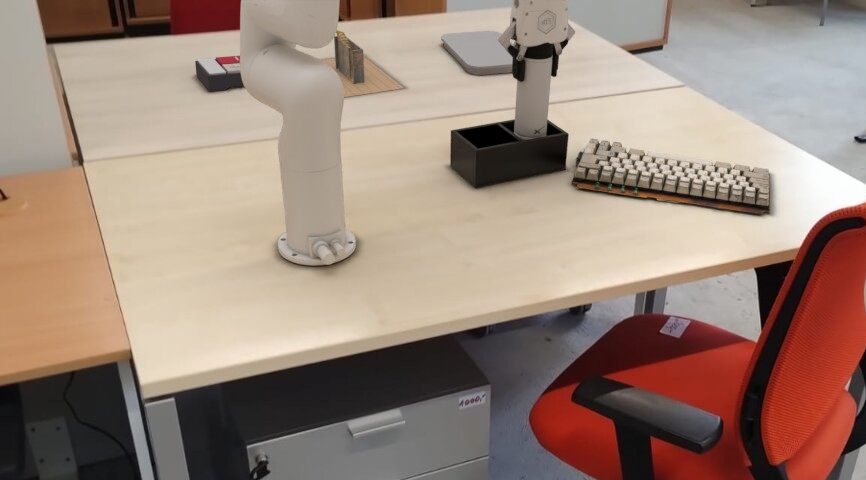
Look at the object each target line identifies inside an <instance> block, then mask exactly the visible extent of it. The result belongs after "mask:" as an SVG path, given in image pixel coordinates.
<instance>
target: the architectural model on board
mask: <svg viewBox="0 0 866 480" xmlns="http://www.w3.org/2000/svg"><path fill="white" fill-rule="evenodd" d="M333 41H334V58H329V59H328V58H327V59H320V60H321V61H323V62H325V63H326V64H328V65H329V66H331V67H332V68H333V69H334V70H335V71H336V73H337V74H338V75H339V77H340V79H341V81H342V84H343V88H344V98H347V97H354V96H355V97H356V96H361V95H368V94H374V93H381V92H388V91H395V90H401V89H404V87H403V86H402V85H401V84H399V82H397V81H395V79H393V78H392V77H390V76H389V75H388V74H387V73H385V72H384V71H383V70H381V69H380V68H379V67H377V66H376V65H375V64H374V63H372V62H371V60H369V59H367V57H365V56H364V49H363V48H362V47H360V46H359V45H358V44H356V43H355V42H354V41H353V40H351V39H350V38H349V37H348V36H346V34H345V32H344V31H341V30H338V29H337V31H336V35H335V36H334V38H333Z"/></svg>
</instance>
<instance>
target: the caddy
mask: <svg viewBox="0 0 866 480" xmlns="http://www.w3.org/2000/svg"><path fill="white" fill-rule="evenodd" d="M514 124H515V118H514V119H509V120H502V121H496V122H491V123H485V124H480V125H474V126H473V125H472V126H468V127H461V128H456V129H450V152H449V153H450V154H449V155H450V157H449V158H450V159H449V160H450V163H449V165H450V166H449V167H450V168H451V169H452V170H454V172H456V173H457V174H458V175H459V176H460V177H462V178H463V179H464V180H465V181H466V182H467V183H468V184H469V185H471V186H472V187H473V188H474V189H478V188H482V187H483V188H484V187H488V186H493V185H498V184H503V183H508V182H513V181H517V180H523V179H528V178H533V177H537V176H541V175H547V174H552V173H556V172H561V171H566V168H567V157H568V146H569V145H568V143H569V133H568V132H567V131H566V130H564V129H562V128H561V127H559V126H558V125H556V124H555V123H554V122H553V121H551V120H549V119H548V120H547V131H546V136H544V137H539V138H533V139H528V140H522V139H521V138H519V137H518V136H517V135H515V134H514Z"/></svg>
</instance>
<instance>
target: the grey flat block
mask: <svg viewBox="0 0 866 480" xmlns="http://www.w3.org/2000/svg"><path fill="white" fill-rule="evenodd" d="M502 34H503V33H501V32H499V31H494V30H479V31H465V32H453V33H452V32H451V33H445V34H442V35H441V37H440V39H441V42H442V43H443V47H444V49H446V50H447V51H448V52H449V53H450V55H451V56H452V57H453V58H454V59H455V60H456V61H457V62H458V63H459V65H461V67H463V68H464V69H465V70H466V71H467V72H468V73H469V74H471V75H475V76H484V75H485V76H486V75H498V74H507V73H512V61H513V57H512V56H511V55H510V54H509V53H508V52H507V51H506V50H505V48H504V47H503V46H502V45H501V44H500V43H499V41H498V39H499V37H500V36H501V35H502ZM510 43H511V44H512V46H513V44H514V43H513V42H511V41H510Z"/></svg>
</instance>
